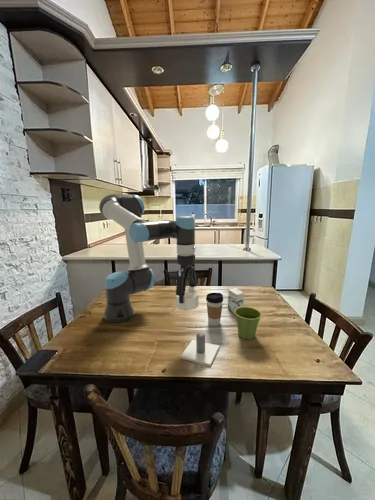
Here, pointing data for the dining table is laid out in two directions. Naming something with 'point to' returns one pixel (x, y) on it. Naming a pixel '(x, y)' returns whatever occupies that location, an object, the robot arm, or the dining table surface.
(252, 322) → the plant pot
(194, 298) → the collar
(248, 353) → the dining table surface
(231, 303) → the ink box
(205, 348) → the white square plate
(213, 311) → the coffee cup
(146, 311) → the dining table surface
